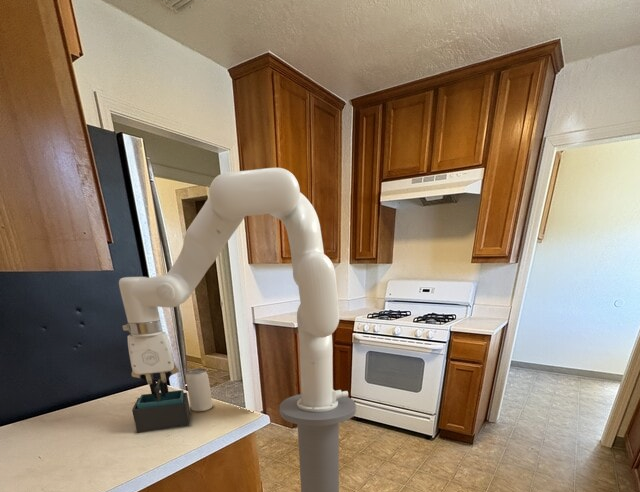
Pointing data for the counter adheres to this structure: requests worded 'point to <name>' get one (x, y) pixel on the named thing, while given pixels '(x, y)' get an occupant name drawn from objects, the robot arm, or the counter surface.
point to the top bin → (160, 398)
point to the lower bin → (162, 416)
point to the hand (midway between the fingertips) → (160, 395)
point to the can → (199, 390)
